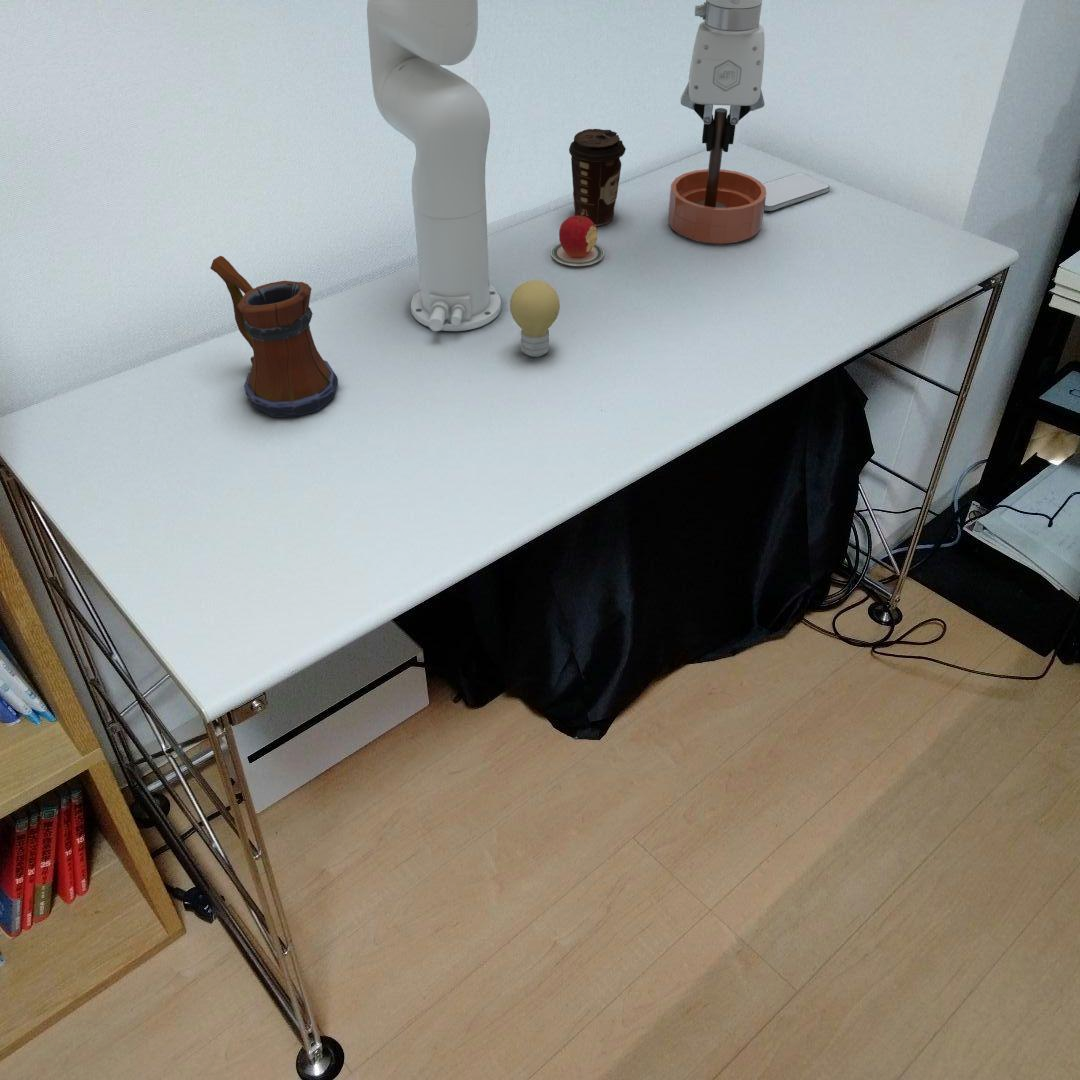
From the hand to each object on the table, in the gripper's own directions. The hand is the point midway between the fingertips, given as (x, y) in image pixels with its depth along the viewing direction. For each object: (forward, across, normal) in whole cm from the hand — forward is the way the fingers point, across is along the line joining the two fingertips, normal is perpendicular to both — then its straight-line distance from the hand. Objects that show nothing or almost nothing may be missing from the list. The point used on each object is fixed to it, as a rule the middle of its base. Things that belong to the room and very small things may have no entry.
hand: (716, 147), depth 155 cm
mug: (+13, -56, -48) cm, 75 cm away
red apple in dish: (+13, -20, -11) cm, 26 cm away
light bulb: (+13, -24, -38) cm, 47 cm away
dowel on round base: (+12, 0, 0) cm, 12 cm away
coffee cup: (+13, -18, +2) cm, 22 cm away
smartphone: (+13, +13, +13) cm, 23 cm away
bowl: (+13, +1, +1) cm, 13 cm away
